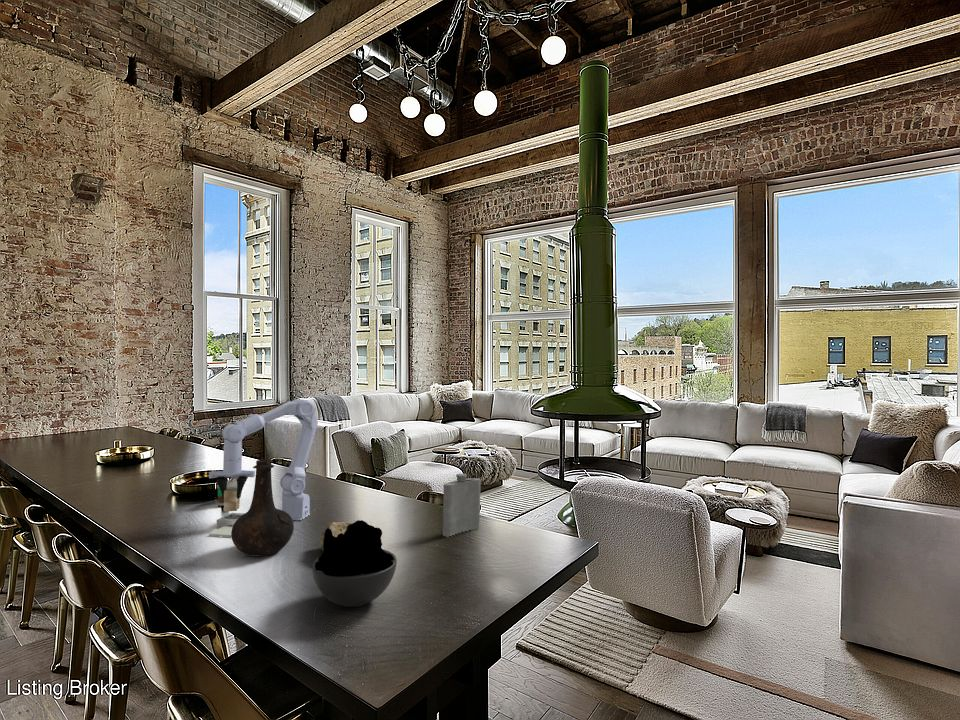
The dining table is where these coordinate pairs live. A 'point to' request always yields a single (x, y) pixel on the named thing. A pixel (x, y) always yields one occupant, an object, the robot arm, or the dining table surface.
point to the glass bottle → (262, 519)
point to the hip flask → (461, 505)
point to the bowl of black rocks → (354, 565)
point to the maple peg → (231, 500)
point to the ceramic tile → (222, 532)
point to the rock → (336, 529)
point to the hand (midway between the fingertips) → (231, 498)
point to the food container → (230, 484)
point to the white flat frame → (228, 520)
